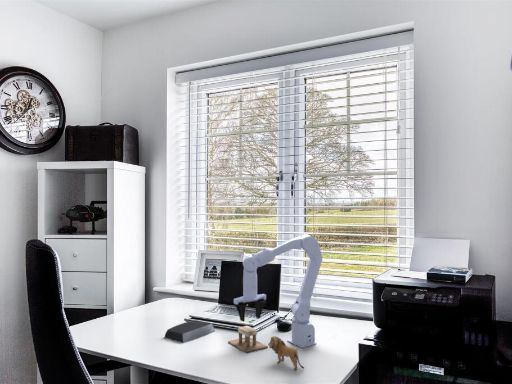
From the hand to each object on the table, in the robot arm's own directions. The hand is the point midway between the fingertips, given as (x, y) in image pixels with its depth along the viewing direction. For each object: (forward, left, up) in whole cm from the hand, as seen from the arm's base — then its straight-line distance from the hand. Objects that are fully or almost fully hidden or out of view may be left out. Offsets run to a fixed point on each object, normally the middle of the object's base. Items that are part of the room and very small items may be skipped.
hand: (250, 319), depth 176 cm
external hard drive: (+24, +16, -10) cm, 31 cm away
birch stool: (-1, +2, -9) cm, 10 cm away
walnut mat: (-1, +2, -10) cm, 10 cm away
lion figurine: (-25, +2, -10) cm, 27 cm away
